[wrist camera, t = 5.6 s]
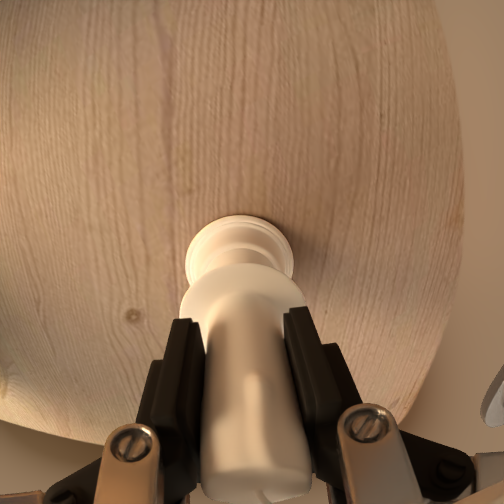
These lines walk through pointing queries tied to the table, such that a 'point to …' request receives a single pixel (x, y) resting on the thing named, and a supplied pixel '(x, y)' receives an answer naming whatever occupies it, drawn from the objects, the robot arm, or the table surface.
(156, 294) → the table surface
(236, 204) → the table surface
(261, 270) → the candle
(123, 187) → the table surface
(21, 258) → the table surface
